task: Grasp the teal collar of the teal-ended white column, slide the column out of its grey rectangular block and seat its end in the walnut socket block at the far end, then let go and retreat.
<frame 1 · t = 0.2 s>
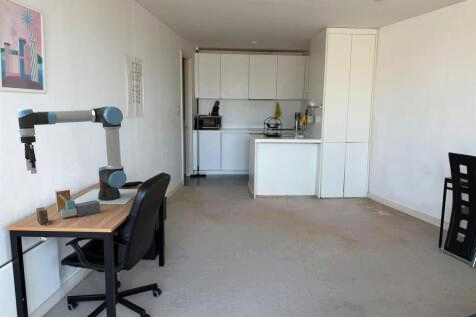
hand: (31, 171, 205), 28 cm above the table, fingers open, 13 cm apart
grey rectangular block: (87, 213, 214), on the table
teal-ended white column: (78, 206, 210), point 6 cm above the table, slide at 0.0 cm
small box: (64, 209, 224), on the table
socket: (43, 222, 198), on the table
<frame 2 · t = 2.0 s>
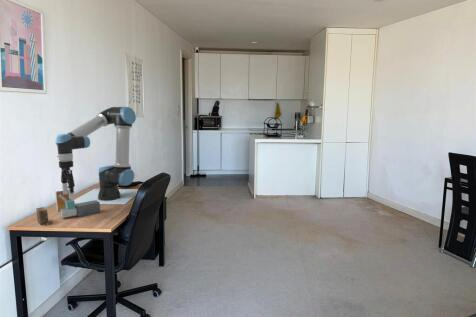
hand: (68, 196, 206), 13 cm above the table, fingers open, 13 cm apart
nothing on the table moved.
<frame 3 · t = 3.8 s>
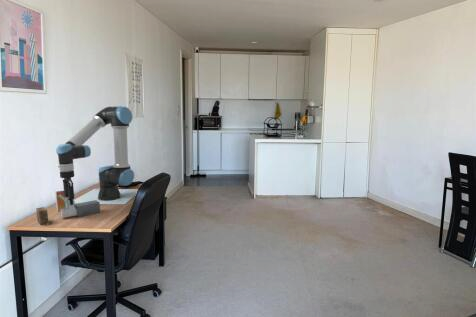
hand: (70, 208, 207), 5 cm above the table, fingers closed on teal-ended white column, 5 cm apart
teal-ended white column: (78, 206, 210), point 6 cm above the table, slide at 0.0 cm, touching gripper
everything else where it was.
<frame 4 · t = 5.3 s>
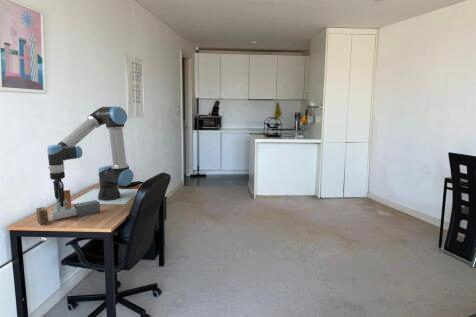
hand: (61, 210, 204), 5 cm above the table, fingers closed on teal-ended white column, 5 cm apart
teal-ended white column: (69, 208, 207), point 6 cm above the table, slide at 5.2 cm, touching gripper
everything else where it was.
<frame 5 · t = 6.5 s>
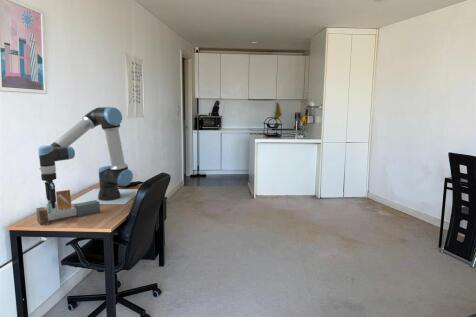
hand: (52, 212, 201), 5 cm above the table, fingers closed on teal-ended white column, 5 cm apart
teal-ended white column: (60, 209, 204), point 6 cm above the table, slide at 9.6 cm, touching gripper
everything else where it was.
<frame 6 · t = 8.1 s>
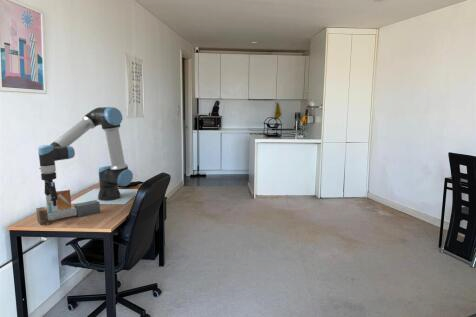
hand: (52, 208, 201), 7 cm above the table, fingers open, 13 cm apart
teal-ended white column: (60, 209, 204), point 6 cm above the table, slide at 9.7 cm
everything else where it was.
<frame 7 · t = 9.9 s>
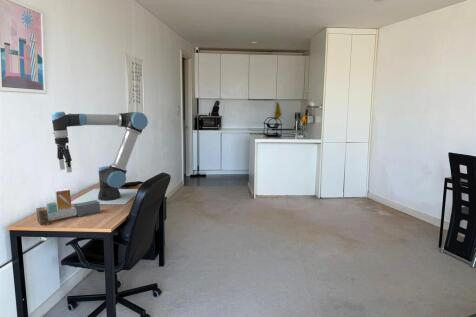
hand: (66, 170, 218), 25 cm above the table, fingers open, 13 cm apart
nothing on the table moved.
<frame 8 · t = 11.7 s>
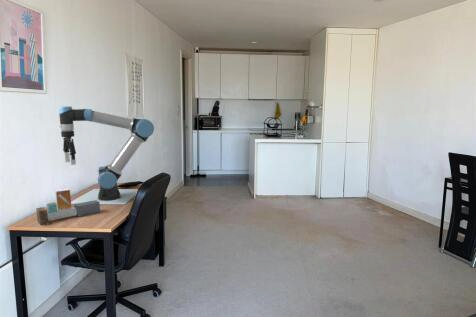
hand: (70, 163, 226), 29 cm above the table, fingers open, 13 cm apart
nothing on the table moved.
at the end: teal-ended white column slide at 9.7 cm; the gripper is holding nothing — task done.
